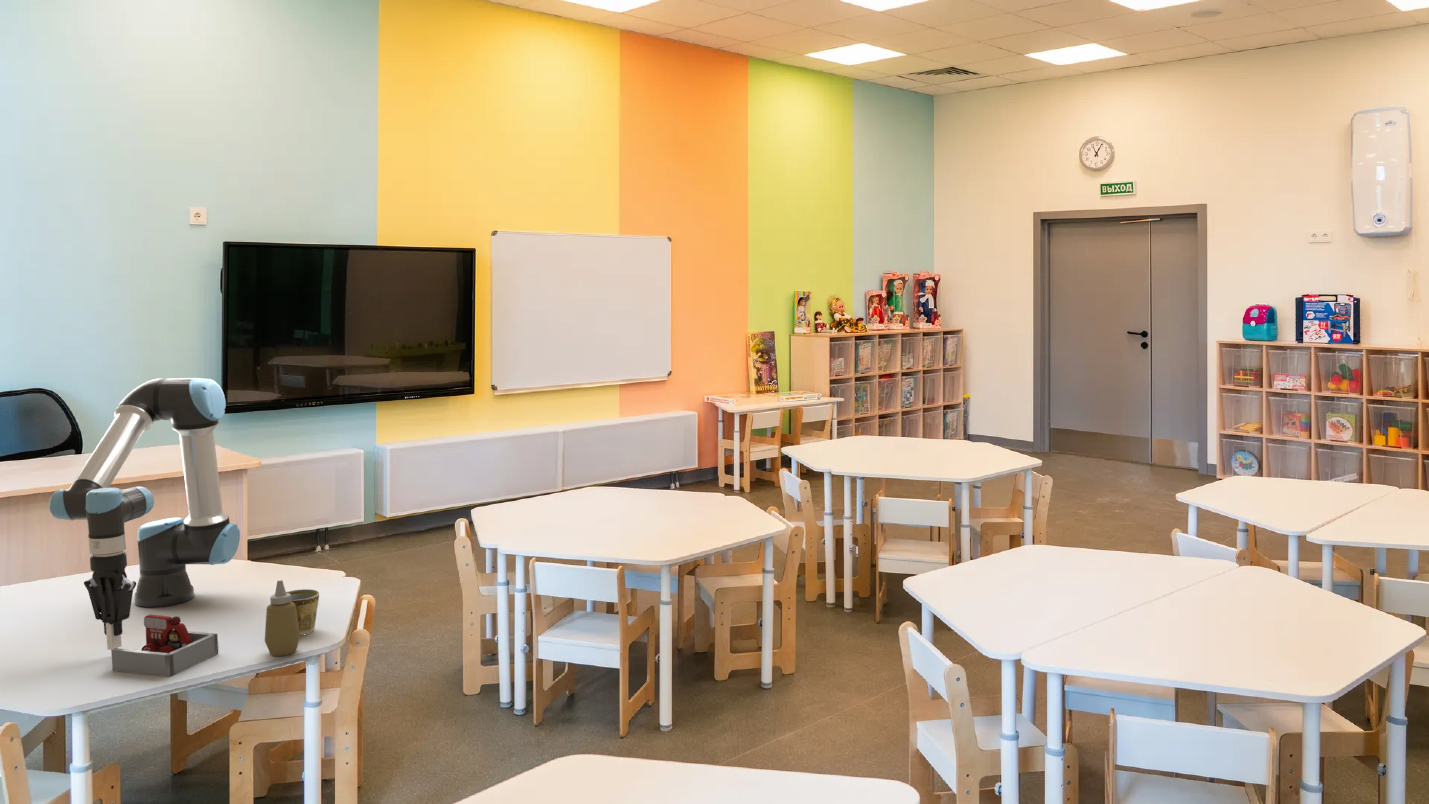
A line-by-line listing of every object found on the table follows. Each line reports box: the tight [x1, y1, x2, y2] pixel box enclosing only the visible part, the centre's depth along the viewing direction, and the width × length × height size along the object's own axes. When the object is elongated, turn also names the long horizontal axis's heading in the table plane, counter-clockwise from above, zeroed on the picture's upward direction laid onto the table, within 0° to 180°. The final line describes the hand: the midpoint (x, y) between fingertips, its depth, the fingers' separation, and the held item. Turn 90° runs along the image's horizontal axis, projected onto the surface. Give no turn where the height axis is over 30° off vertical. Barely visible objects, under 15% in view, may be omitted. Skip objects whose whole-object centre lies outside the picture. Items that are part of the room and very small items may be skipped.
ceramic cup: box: [286, 588, 320, 636], centre depth 260 cm, size 13×10×10 cm
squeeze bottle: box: [264, 579, 301, 657], centre depth 243 cm, size 8×8×18 cm
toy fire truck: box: [140, 613, 191, 653], centre depth 240 cm, size 7×12×10 cm, turn 74°
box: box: [110, 629, 219, 678], centre depth 238 cm, size 16×15×5 cm
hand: (114, 647), depth 242 cm, fingers closed
